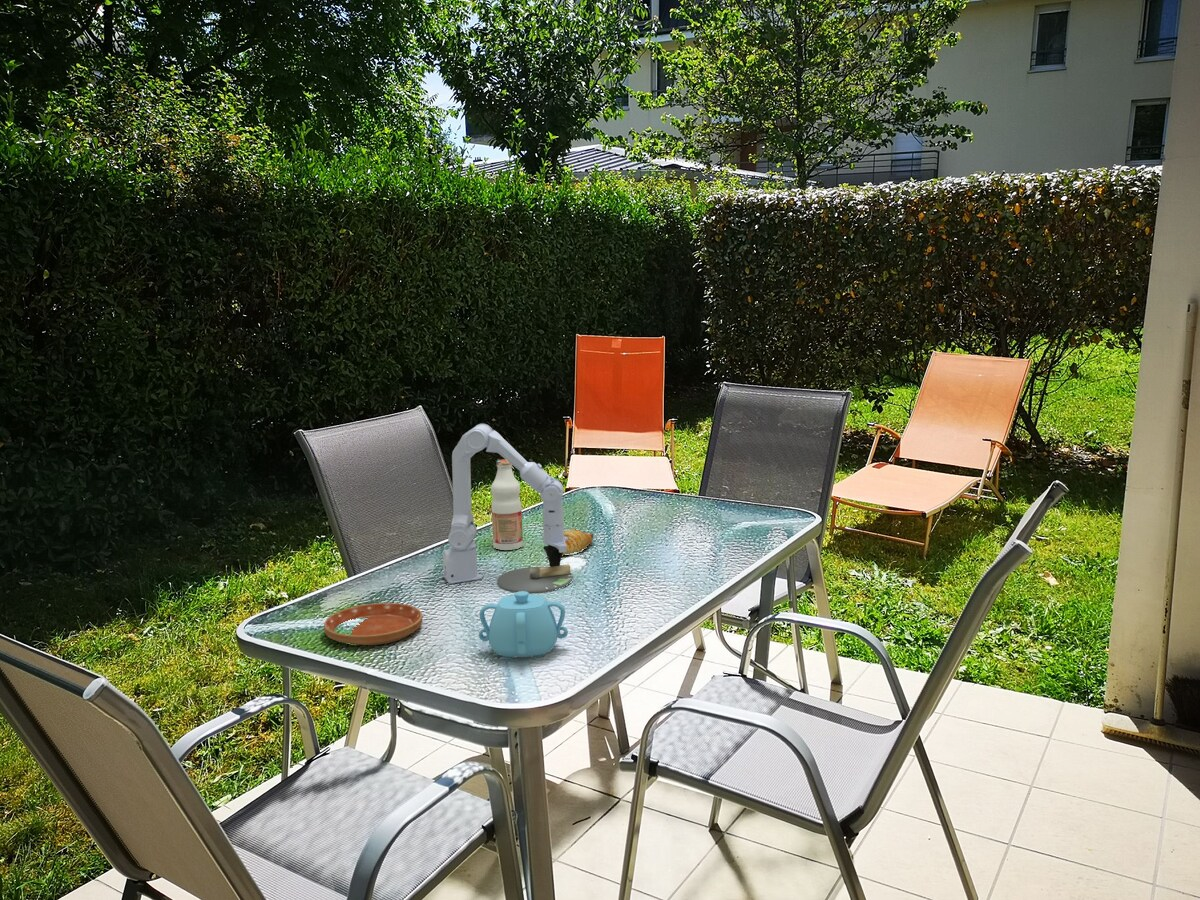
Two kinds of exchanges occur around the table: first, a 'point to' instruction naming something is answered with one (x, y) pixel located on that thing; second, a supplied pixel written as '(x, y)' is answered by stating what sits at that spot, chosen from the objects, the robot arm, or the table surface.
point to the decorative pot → (522, 625)
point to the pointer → (549, 571)
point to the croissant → (576, 540)
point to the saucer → (375, 623)
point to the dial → (531, 581)
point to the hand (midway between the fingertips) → (555, 570)
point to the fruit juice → (506, 509)
